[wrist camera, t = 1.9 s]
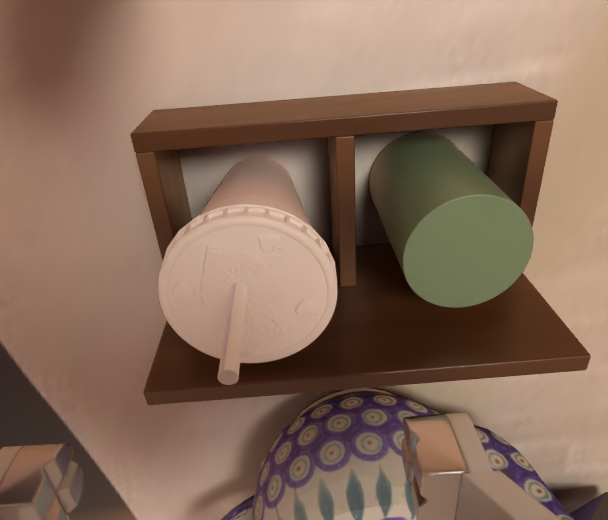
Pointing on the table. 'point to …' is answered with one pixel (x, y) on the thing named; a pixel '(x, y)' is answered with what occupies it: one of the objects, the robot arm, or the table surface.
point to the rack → (367, 248)
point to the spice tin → (448, 222)
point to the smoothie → (249, 272)
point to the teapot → (359, 463)
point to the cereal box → (593, 509)
